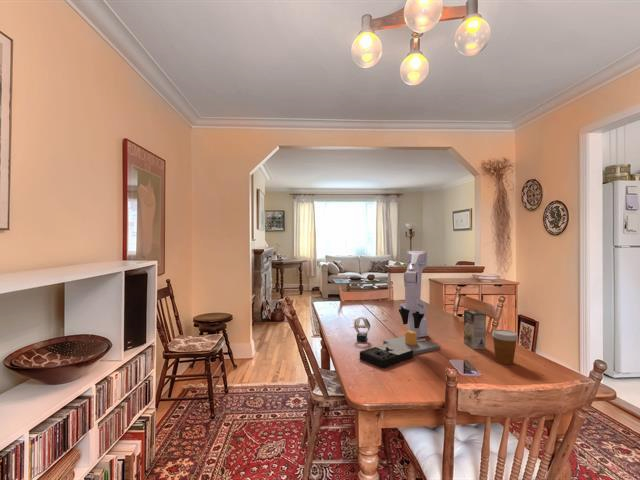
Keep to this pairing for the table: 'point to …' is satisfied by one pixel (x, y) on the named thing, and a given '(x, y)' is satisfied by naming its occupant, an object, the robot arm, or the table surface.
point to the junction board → (418, 348)
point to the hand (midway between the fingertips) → (411, 326)
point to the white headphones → (358, 324)
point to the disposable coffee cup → (504, 345)
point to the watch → (362, 335)
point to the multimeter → (386, 355)
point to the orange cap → (410, 337)
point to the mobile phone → (465, 368)
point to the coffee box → (474, 329)
